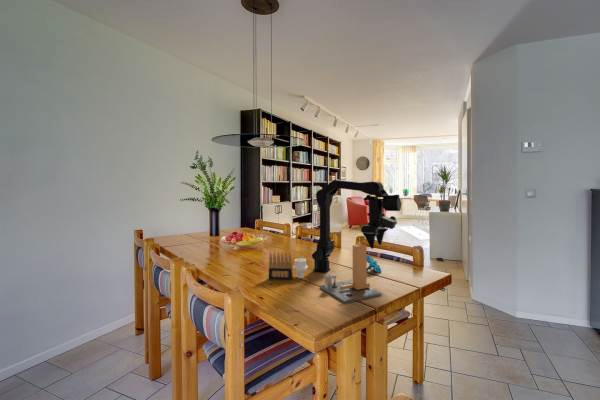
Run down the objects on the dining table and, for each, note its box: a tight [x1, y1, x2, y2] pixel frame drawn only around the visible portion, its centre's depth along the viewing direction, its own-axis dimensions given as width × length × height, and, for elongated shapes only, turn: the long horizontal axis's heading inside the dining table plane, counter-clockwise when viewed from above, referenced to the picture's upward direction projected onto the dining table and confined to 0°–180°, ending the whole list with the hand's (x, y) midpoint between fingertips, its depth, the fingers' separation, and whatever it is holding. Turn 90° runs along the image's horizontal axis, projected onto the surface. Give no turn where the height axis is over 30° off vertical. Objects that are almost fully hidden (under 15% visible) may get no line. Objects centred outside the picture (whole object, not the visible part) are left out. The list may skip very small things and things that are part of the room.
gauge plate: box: [319, 274, 382, 304], centre depth 113 cm, size 18×16×6 cm
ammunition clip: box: [268, 252, 294, 281], centre depth 129 cm, size 11×2×12 cm, turn 82°
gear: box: [367, 254, 382, 273], centre depth 140 cm, size 11×6×10 cm
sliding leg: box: [340, 243, 371, 290], centre depth 113 cm, size 5×12×16 cm, turn 116°
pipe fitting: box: [292, 257, 309, 279], centre depth 132 cm, size 6×7×8 cm
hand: (376, 246), depth 125 cm, fingers open, 9 cm apart
